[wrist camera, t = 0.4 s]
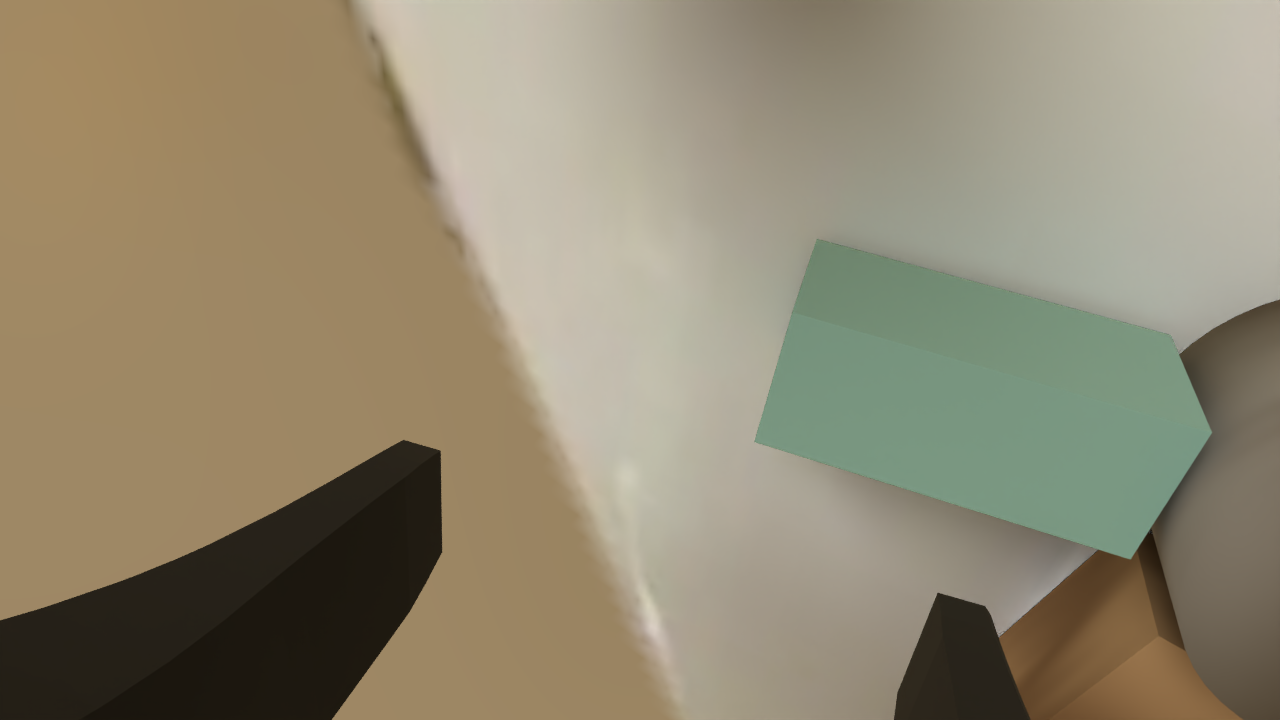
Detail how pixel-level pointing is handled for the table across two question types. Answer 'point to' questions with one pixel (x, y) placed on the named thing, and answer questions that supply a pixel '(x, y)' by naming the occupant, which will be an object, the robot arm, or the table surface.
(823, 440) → the folding leg
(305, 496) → the robot arm
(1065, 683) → the stool base
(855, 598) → the table surface
